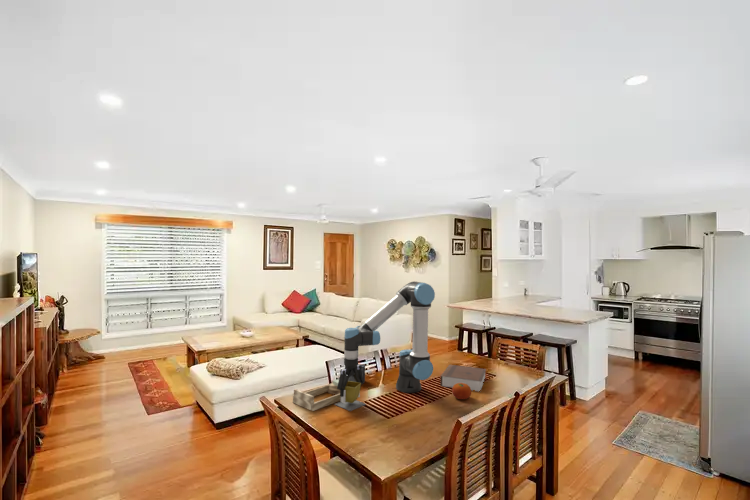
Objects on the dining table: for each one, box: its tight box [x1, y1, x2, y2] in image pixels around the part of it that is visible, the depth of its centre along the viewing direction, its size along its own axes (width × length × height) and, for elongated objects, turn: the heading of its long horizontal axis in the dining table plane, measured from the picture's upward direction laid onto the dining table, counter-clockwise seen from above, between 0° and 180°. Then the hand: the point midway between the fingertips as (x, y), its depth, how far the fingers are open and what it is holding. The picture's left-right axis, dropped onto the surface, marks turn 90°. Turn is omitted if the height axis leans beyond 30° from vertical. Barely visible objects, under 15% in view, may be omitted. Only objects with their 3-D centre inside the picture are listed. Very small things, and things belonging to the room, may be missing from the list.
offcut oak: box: [329, 382, 340, 391], centre depth 217 cm, size 10×4×2 cm, turn 77°
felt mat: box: [333, 399, 367, 412], centre depth 202 cm, size 12×12×1 cm
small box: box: [348, 363, 366, 385], centre depth 239 cm, size 11×6×10 cm, turn 84°
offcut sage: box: [332, 379, 339, 386], centre depth 217 cm, size 7×4×2 cm, turn 40°
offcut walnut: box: [327, 388, 340, 395], centre depth 217 cm, size 12×4×3 cm, turn 63°
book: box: [440, 364, 487, 392], centre depth 243 cm, size 24×28×7 cm
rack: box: [292, 383, 341, 412], centre depth 209 cm, size 16×30×7 cm, turn 139°
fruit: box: [451, 383, 472, 400], centre depth 214 cm, size 11×10×8 cm
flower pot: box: [342, 381, 362, 403], centre depth 202 cm, size 9×9×9 cm
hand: (350, 399), depth 202 cm, fingers closed on flower pot, 10 cm apart
